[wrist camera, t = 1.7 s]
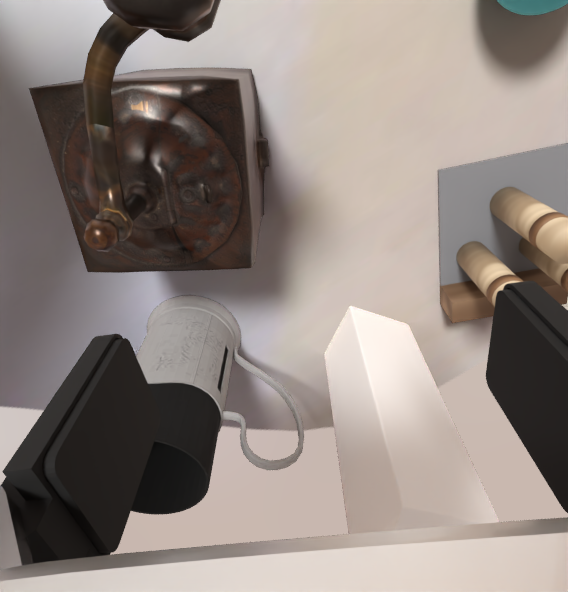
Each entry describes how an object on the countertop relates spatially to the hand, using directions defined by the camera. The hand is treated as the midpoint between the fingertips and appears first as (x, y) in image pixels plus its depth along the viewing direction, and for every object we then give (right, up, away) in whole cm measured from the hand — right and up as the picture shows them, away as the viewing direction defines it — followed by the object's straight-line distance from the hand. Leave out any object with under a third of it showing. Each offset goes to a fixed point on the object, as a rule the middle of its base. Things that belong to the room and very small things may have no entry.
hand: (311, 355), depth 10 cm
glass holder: (-6, -2, +28) cm, 29 cm away
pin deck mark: (+17, +8, +22) cm, 28 cm away
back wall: (+17, +3, +25) cm, 30 cm away
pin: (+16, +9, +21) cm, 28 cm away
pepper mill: (-7, +14, +18) cm, 24 cm away
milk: (+7, -2, +28) cm, 29 cm away
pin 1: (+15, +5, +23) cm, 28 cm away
